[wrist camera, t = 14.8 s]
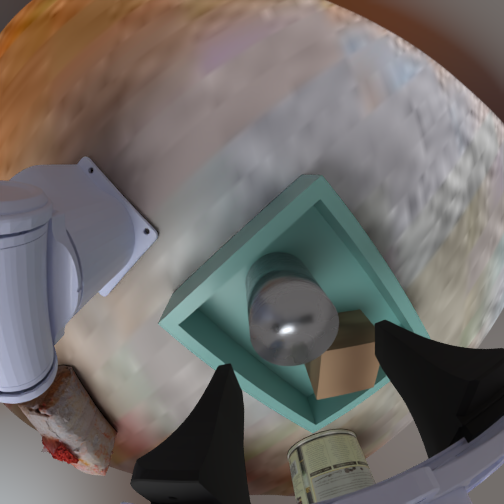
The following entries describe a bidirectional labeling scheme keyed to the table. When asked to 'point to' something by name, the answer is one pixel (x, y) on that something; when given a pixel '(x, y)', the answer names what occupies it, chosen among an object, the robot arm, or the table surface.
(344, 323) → the walnut cube
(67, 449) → the food item
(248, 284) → the metal cylinder
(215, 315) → the tote
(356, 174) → the table surface
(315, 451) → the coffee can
